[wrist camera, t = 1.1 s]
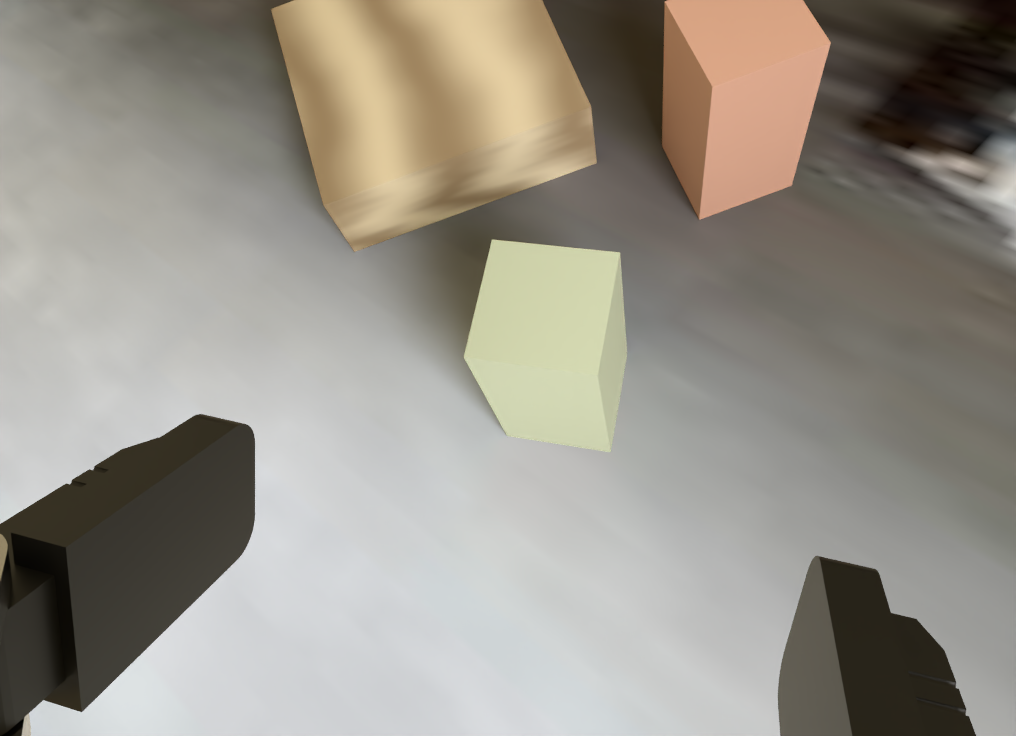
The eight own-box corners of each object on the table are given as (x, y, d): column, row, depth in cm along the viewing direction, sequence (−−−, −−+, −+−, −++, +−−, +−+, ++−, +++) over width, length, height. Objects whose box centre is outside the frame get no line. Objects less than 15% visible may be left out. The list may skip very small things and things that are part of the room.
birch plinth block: (518, -9, 50) (505, -80, 46) (597, 166, 45) (591, 106, 40) (305, 71, 51) (271, 9, 46) (356, 255, 45) (323, 205, 41)
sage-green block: (627, 354, 40) (619, 252, 31) (610, 452, 38) (597, 375, 29) (527, 341, 41) (492, 239, 32) (507, 435, 39) (463, 357, 30)
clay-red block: (750, 113, 44) (776, -41, 35) (791, 185, 42) (830, 42, 33) (662, 146, 44) (664, 1, 35) (699, 219, 42) (712, 86, 33)
